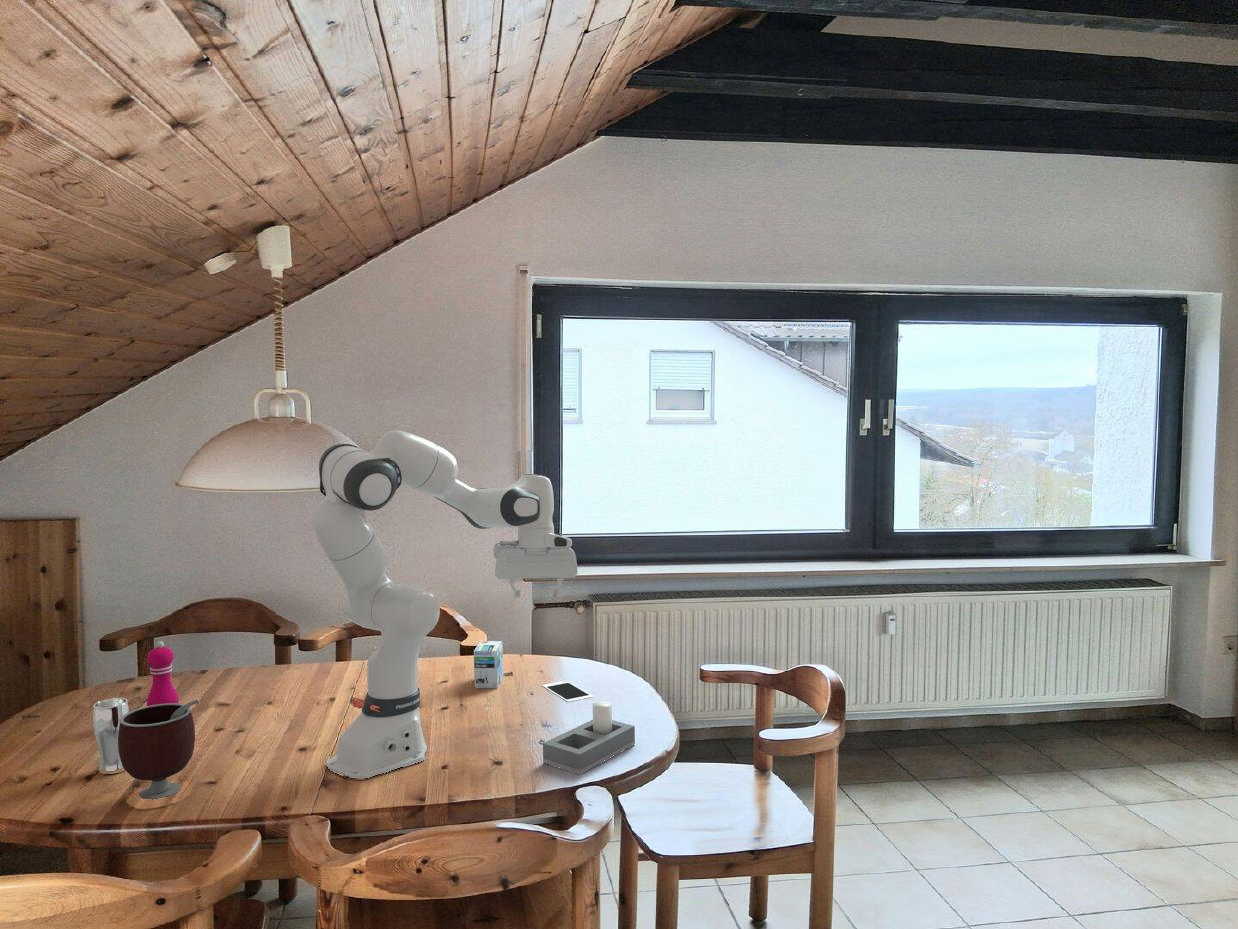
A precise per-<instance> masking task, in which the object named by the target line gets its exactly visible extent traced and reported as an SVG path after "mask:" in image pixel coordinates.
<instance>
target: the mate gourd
mask: <svg viewBox="0 0 1238 929" xmlns="http://www.w3.org/2000/svg"><path fill="white" fill-rule="evenodd" d="M198 703H199V699H193V700H191V701H189V702H186V703H185V704H184V703H178V704H177V703H169V704H158V705H151V706H147V705H146V706H143V707H139V708H136V709H133V710H131V711H129V712H128V713H126V714H125V715H123V716H122V717H121V718H120V726H119V733H118V751H119V756H120V760H121V763H122V766H123V768H124V770H125V771H124V772H127V774H129V775H130V777H132V778H133V779H136V780H138V781H139V780H140V781H151V783H150V784H151V786H150V787H147V788H145V789H143V790H142V791H141V792H140V793H139V796H140V797H141V798H143V799H152V800H153V799H158V798H163V797H169V796H171V795H173V794H175V793H176V792H178V791H179V790H180V785H179V784H176V783H169V782H168V780H169V779H168V778H169V777H172V776H174V775H176V774H178V773H180V772H181V771H183V770H184V769H185V768H186V767H187V765H188V763H189V762H190V761H191V759H192V758H193V754H194V752H195V751H194V750H195V745H196V744H195V742H196V731H195V729H196V727H195V723H194V717H193V714H192V709H191V706H193V705H197V704H198Z"/></svg>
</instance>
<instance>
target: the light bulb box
mask: <svg viewBox="0 0 1238 929" xmlns="http://www.w3.org/2000/svg"><path fill="white" fill-rule="evenodd" d="M503 647H504V646H503V641H502V640H488V641H487V640H479V642H478V644H477V646H476V647H475V649H474V650H473V668H474V669H473V671H474V689H498V688H499V686H500V685H501V683H502V680H503V679H504V659H503V658H504V656H503V655H504V652H503V651H504V649H503Z"/></svg>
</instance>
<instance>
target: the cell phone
mask: <svg viewBox="0 0 1238 929" xmlns="http://www.w3.org/2000/svg"><path fill="white" fill-rule="evenodd" d="M565 681H566V682H561V681H557V682H556V681H555V682H551V683H547V684H542V685H541V687H543V688H544V687H545V688H544V689H545V690H547V689H548V690H547V691H549V692H551V693H552V694H554V695H556V696H557V697H558V698H560V699H562V700H563V699H564V700H563V701H565V702H566V701H567V702H566V703H572V702H571V701H573V702H576V701H575V700H578V701H580V700H579V699H583V700H588V699H591V698H590V697H592V698H593V697H594V696H593V695H592V694H591V693H589V694H588V692H587V691H585V690H584V689H582V688H580V687H579V688H577V687H578V686H577V685H575V684H573V683H572V682H569V681H568V680H565Z"/></svg>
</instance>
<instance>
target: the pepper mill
mask: <svg viewBox="0 0 1238 929" xmlns="http://www.w3.org/2000/svg"><path fill="white" fill-rule="evenodd" d="M174 657H175V655H174V652H173V650H172V649H171V648H170V647H168V646H165V644H164V641H162V640H161V641H160V640H158V641H157V642H156V644H155V648H153V649H151V650H150V651H148V653H147V657H146V662H147V664H149V665H150V668H149V670H150V671H149V673H150V674H151V675H152V676H151V677H152V683H151V688H150V691H149V693H148V696H147V699H146V707H147V706H151V705H158V704H169V703H177V704H179V701H180V700H179V694H178V692H177V690H176V689H175V687H174V685H173V683H172V680H171V673H172V671H173V665H172V662H173V661H174Z"/></svg>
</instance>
